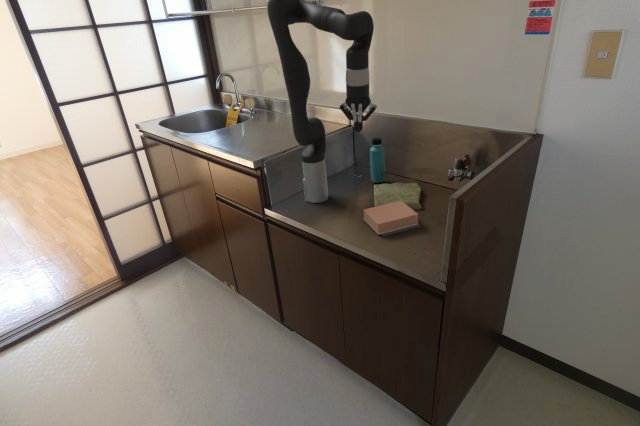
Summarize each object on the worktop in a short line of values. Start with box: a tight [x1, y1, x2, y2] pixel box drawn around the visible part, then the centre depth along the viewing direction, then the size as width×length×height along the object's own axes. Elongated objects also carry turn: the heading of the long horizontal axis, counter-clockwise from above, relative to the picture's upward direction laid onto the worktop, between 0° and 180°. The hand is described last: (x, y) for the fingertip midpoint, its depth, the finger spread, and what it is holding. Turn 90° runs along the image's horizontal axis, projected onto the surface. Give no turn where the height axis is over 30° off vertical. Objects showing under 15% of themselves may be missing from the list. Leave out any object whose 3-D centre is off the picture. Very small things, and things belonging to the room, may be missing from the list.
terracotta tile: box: [363, 201, 419, 235], centre depth 135 cm, size 4×12×15 cm
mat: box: [380, 223, 420, 237], centre depth 136 cm, size 14×13×1 cm
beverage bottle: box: [369, 137, 387, 183], centre depth 164 cm, size 6×7×20 cm
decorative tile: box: [373, 182, 422, 210], centre depth 153 cm, size 19×20×4 cm
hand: (358, 131), depth 134 cm, fingers closed
